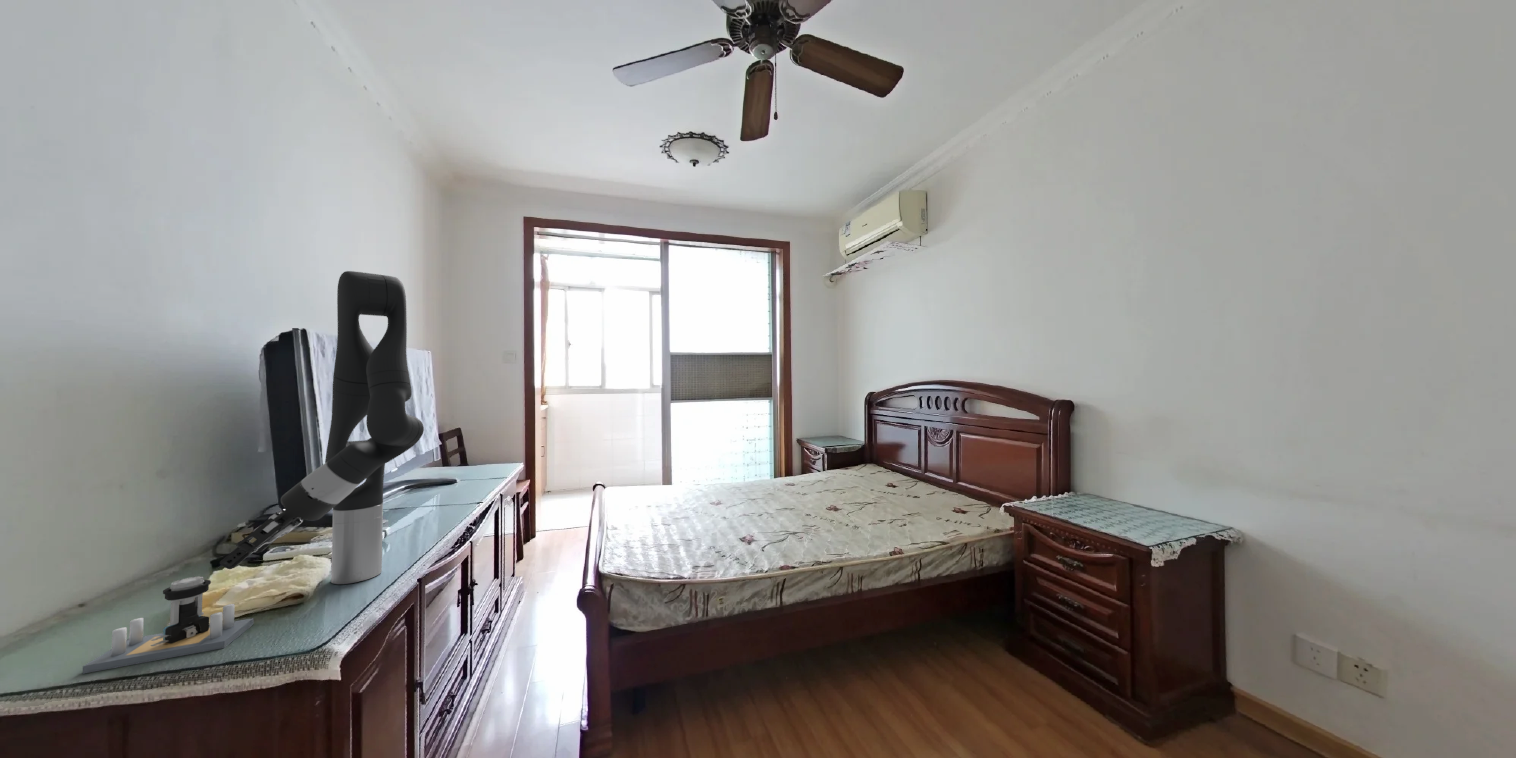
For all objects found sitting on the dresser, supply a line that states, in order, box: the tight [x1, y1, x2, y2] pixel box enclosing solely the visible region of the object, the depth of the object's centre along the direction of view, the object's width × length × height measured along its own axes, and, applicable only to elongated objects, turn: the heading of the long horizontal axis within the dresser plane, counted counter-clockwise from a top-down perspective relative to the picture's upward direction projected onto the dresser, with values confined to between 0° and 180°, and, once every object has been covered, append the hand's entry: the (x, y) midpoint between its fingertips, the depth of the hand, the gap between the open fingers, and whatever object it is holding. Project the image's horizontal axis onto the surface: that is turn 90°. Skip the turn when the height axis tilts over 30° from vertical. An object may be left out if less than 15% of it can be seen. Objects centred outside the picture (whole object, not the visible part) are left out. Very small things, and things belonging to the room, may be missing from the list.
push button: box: [151, 576, 212, 646], centre depth 80 cm, size 7×5×10 cm
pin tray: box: [82, 603, 254, 674], centre depth 79 cm, size 9×16×5 cm, turn 116°
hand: (239, 557), depth 83 cm, fingers open, 8 cm apart
